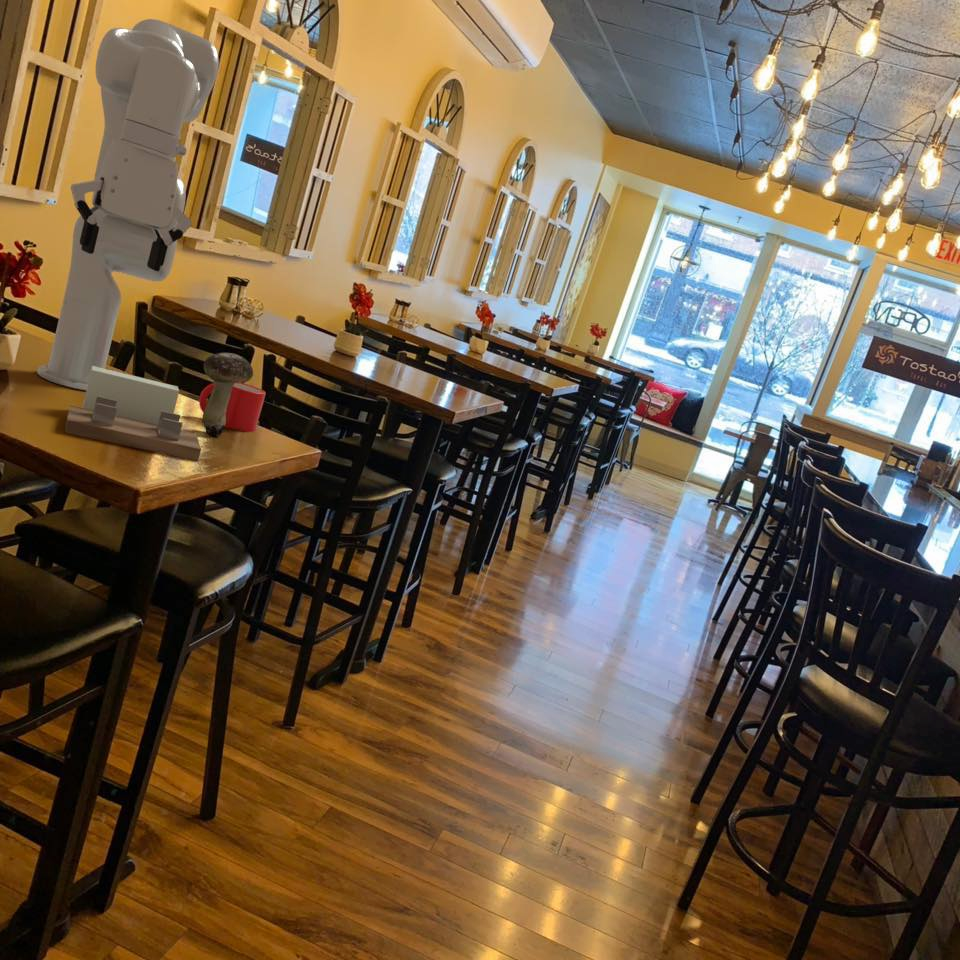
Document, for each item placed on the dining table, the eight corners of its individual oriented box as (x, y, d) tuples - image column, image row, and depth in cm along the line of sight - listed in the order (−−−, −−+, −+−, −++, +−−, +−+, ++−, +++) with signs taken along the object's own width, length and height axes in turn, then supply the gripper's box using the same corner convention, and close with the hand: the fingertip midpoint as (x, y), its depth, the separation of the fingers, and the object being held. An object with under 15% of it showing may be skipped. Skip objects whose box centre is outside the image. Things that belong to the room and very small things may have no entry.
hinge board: (67, 417, 150) (74, 387, 149) (193, 444, 158) (200, 416, 158) (64, 432, 141) (71, 401, 140) (198, 460, 150) (205, 431, 149)
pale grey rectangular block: (81, 411, 157) (92, 365, 156) (166, 430, 163) (177, 386, 161) (80, 416, 154) (91, 369, 152) (167, 435, 160) (179, 390, 158)
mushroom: (221, 429, 176) (242, 353, 173) (244, 444, 171) (266, 365, 168) (176, 423, 169) (196, 343, 166) (198, 438, 164) (220, 356, 161)
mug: (190, 411, 182) (200, 373, 181) (249, 423, 189) (259, 386, 187) (199, 422, 176) (209, 382, 174) (260, 434, 182) (270, 396, 181)
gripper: (195, 159, 140) (167, 271, 143) (78, 117, 128) (50, 240, 131) (216, 165, 135) (187, 280, 138) (96, 122, 123) (67, 249, 126)
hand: (120, 260), depth 135 cm, fingers open, 9 cm apart
